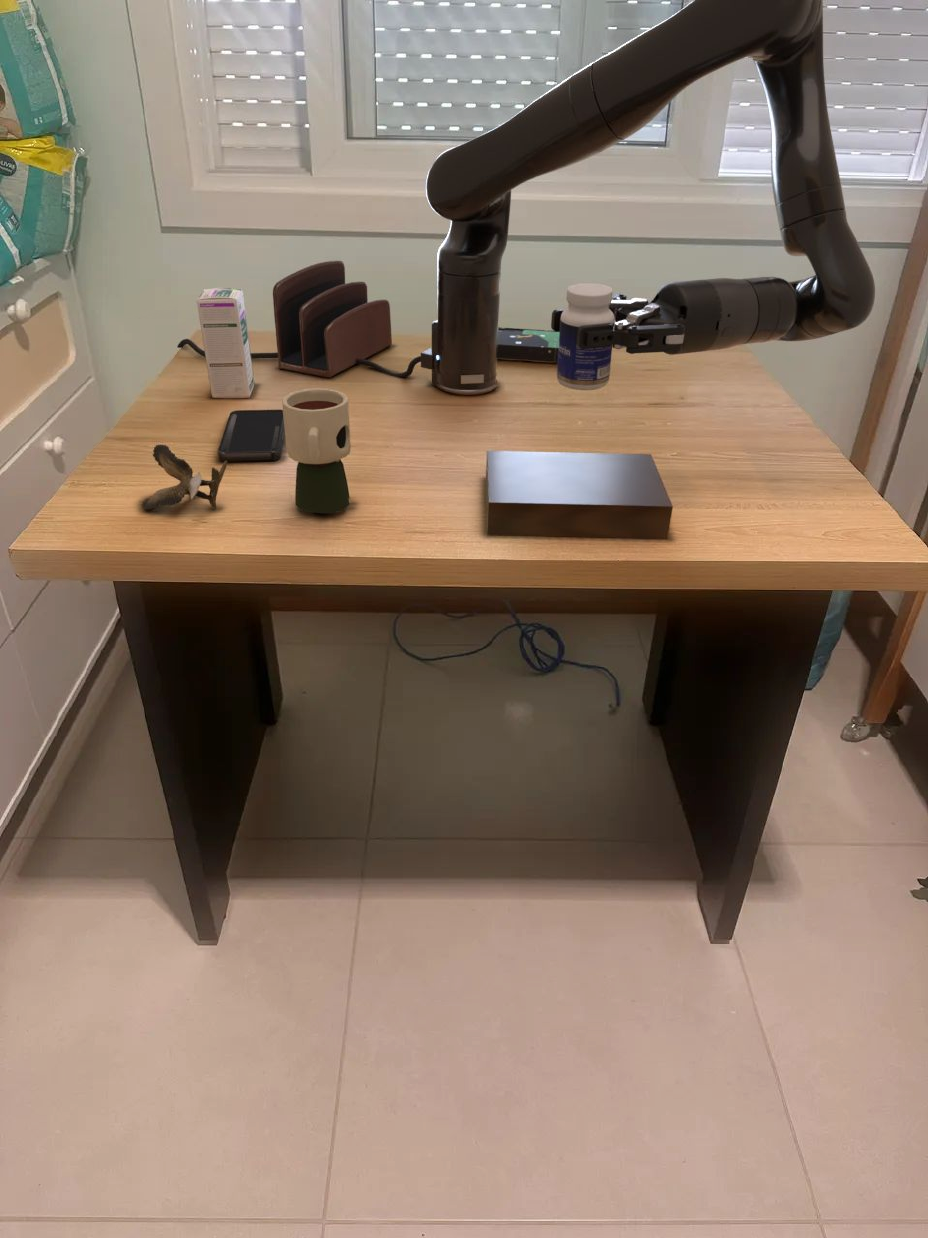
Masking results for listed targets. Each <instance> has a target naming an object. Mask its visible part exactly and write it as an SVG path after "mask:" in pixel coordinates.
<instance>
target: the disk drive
mask: <svg viewBox="0 0 928 1238" xmlns="http://www.w3.org/2000/svg"><path fill="white" fill-rule="evenodd" d="M559 334H560V332H556V331H554V330H553V329H551V330H550V329H549V330H545V329H532V328H518V327H517V328H515V327H501V326H498V350H497V360H507V361H529V362H537V363H551V364H552V363H558V350H559Z"/></svg>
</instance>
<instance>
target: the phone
mask: <svg viewBox="0 0 928 1238" xmlns="http://www.w3.org/2000/svg"><path fill="white" fill-rule="evenodd" d="M222 434H223V435H222V437H221V440H220V443H219V446H218V448H217V453H218V459H219V461H220V462H223V463H224V462H225V461H227V463H229V462H230V463H231V462H235V463H236V462H273V461H277V460H280V459H281V457H282V452H283V447H284V442H285V427H284V417H283V409H239V410H238V409H236V410H233V411H231V412H230V413H229V415H228V418H227V421H226V425H225V427H224V431H223V433H222Z"/></svg>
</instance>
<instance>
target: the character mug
mask: <svg viewBox="0 0 928 1238" xmlns="http://www.w3.org/2000/svg"><path fill="white" fill-rule="evenodd" d="M281 406H282V407H281V408H282V410H283V417H284V427H285V436H284V439H285V446H286V447H285V449H286V451H287V455H288V458H290V459H292V460H293V461H295V462H297V464H296V471H295V472H296V475H295V489H294V490H295V496H294V497H295V498H294V499H295V500H294V501H295V502H294V503H295V506H296V508H297V509H299V510H300V511H304V512H308V513H315V514H316V513H317V514H330V515H332V514H333V515H334V514H337V513H339V512H343V511H345V510H346V509H347V508H348V507H350V500H351V496H350V490H349V485H348V479H347V474H346V471H345V470H346V469H345V465H344V462H343V461H342V459H344V458H346V457H347V456H349V455H350V453H351V447H352V446H351V444H352V443H351V426H350V414H349V413H350V411H349V410H350V408H349V407H350V406H349V397H348V396H347V394H345V393H343V392H341V391H338V390H335V389H330V388H318V387H315V388H303V389H300V390H295V391H292V392H290V393H288V394H285V395H284V397H283V398H282V399H281Z"/></svg>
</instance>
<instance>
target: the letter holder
mask: <svg viewBox="0 0 928 1238" xmlns="http://www.w3.org/2000/svg"><path fill="white" fill-rule="evenodd" d="M272 301H273V303H272V304H273V314H274V315H273V316H274V317H273V318H274V325H275V326H274V327H275V328H274V329H275V339H276V350H277V352H278V358H277V364H278V368H279V370H286V371H290V372H296V373H301V374H306V375H311V376H315V377H316V376H317V377H322V378H326V379H330V378H332V377H334V376H335V375H337V374H339V373H342V372H344V371H345V370H347V369H349V368H351V367H353V366H355V365H357V363H356V359H357V358H360V359H364V360H367V358H370V357H372V356H374V355H376V354H378V353H379V352H381V351H383V350H385V349H387V348H389V347H391V346H393V338H392V337H393V336H392V320H391V303H390V302H389V300H388V299H384V298H383V299H377V300H373V301H369V302H368V286H367V283H366V281H350V282H346V268H345V263H344V262H343V261H342V260H328V261H322V262H318V263H315V264H312V265H309V266H306V267H303V268H302V269H299V270H296V271H295V272H293V273H291V274H289V275H287V276H286V277H283V278H282V279H280V280H278V281H277V282H276V283H275V284H274V286H273V287H272ZM277 352H276V353H277Z"/></svg>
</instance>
